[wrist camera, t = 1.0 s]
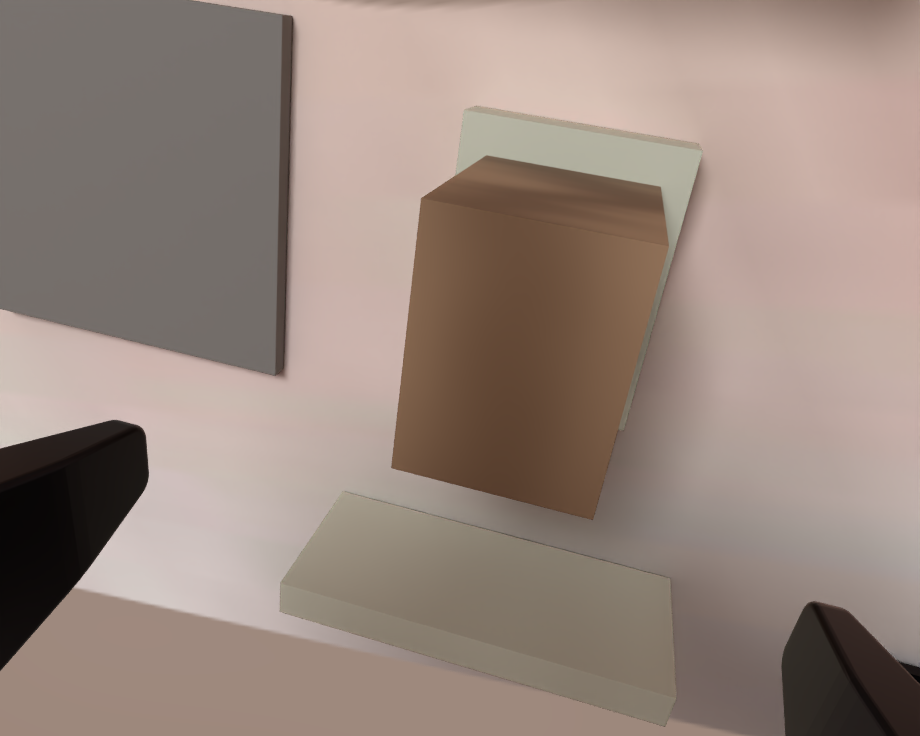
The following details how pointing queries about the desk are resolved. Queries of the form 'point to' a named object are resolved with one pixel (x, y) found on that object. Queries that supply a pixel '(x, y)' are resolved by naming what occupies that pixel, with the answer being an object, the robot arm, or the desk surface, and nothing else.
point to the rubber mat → (147, 172)
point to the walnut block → (526, 329)
